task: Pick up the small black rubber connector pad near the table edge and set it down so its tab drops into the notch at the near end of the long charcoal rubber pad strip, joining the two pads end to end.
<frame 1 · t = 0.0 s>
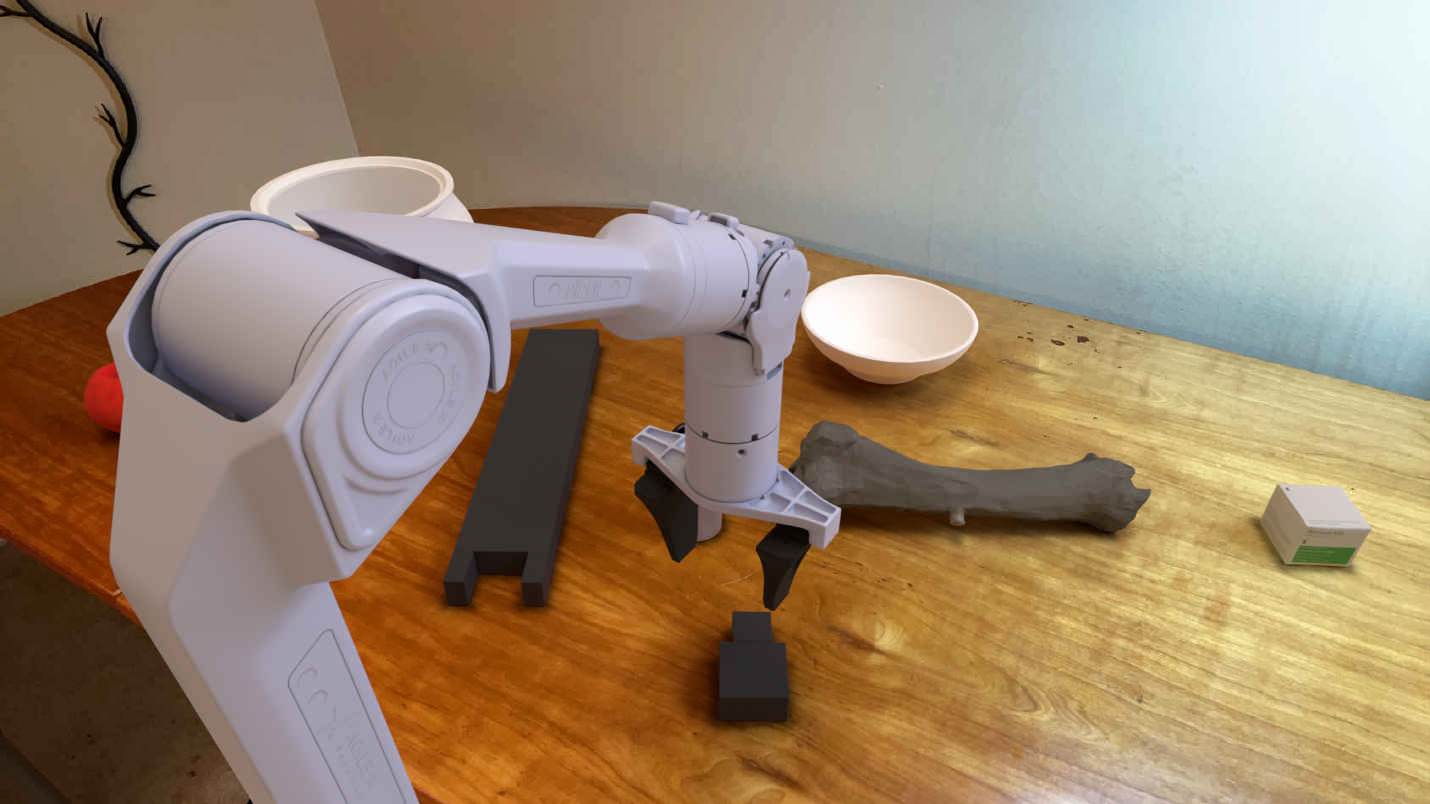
hand: (728, 576, 62), 12 cm above the table, tool pointing down, fingers open, 7 cm apart
small box: (1301, 546, 81), on the table
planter: (697, 526, 83), on the table
apple: (143, 428, 95), on the table
bowl: (881, 367, 105), on the table
pot: (383, 313, 114), on the table
bone: (956, 516, 84), on the table
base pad: (537, 454, 91), on the table
connector pad: (752, 692, 68), on the table
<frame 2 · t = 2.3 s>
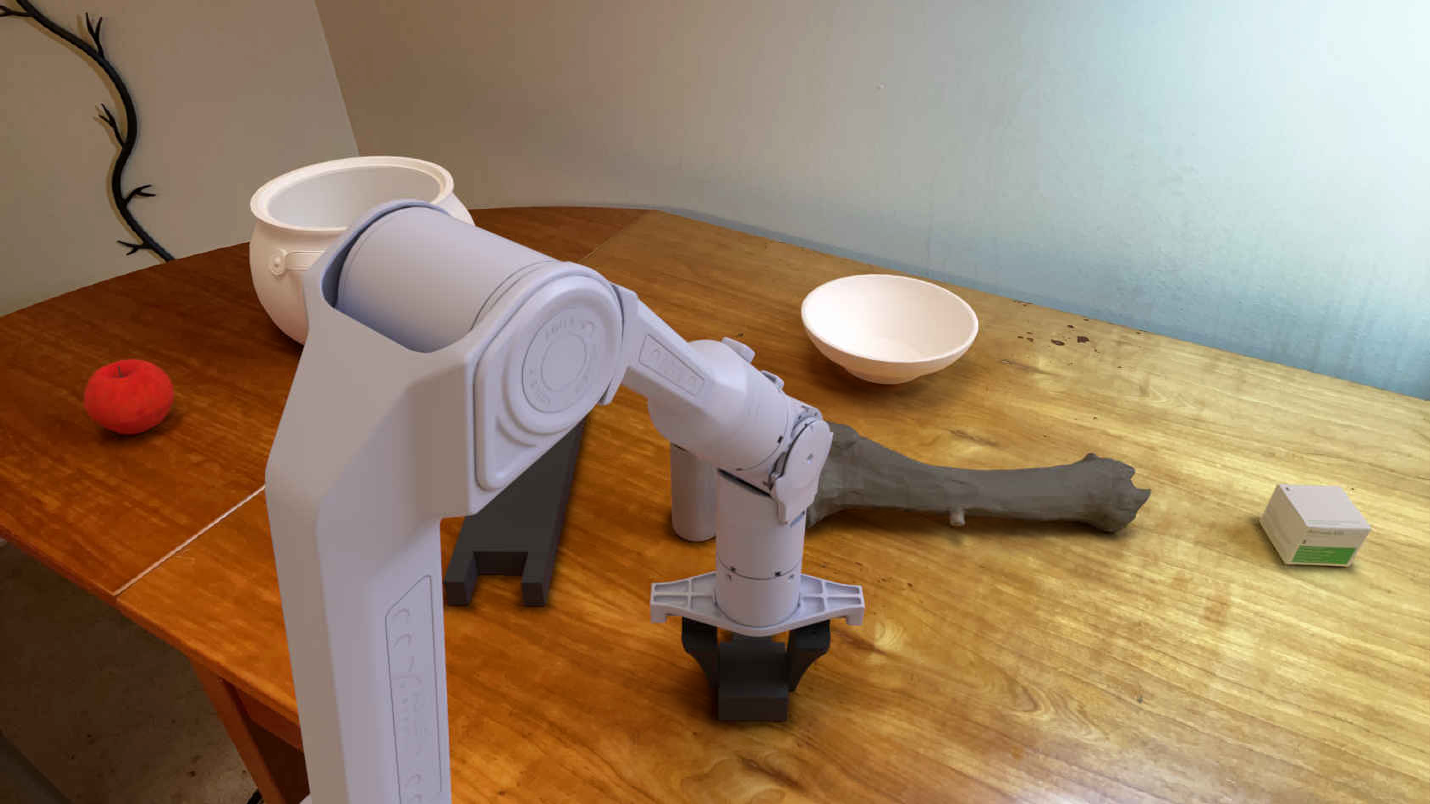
hand: (752, 680, 67), 1 cm above the table, tool pointing down, fingers closed on connector pad, 5 cm apart
connector pad: (751, 692, 68), on the table, touching gripper
everything else where it was.
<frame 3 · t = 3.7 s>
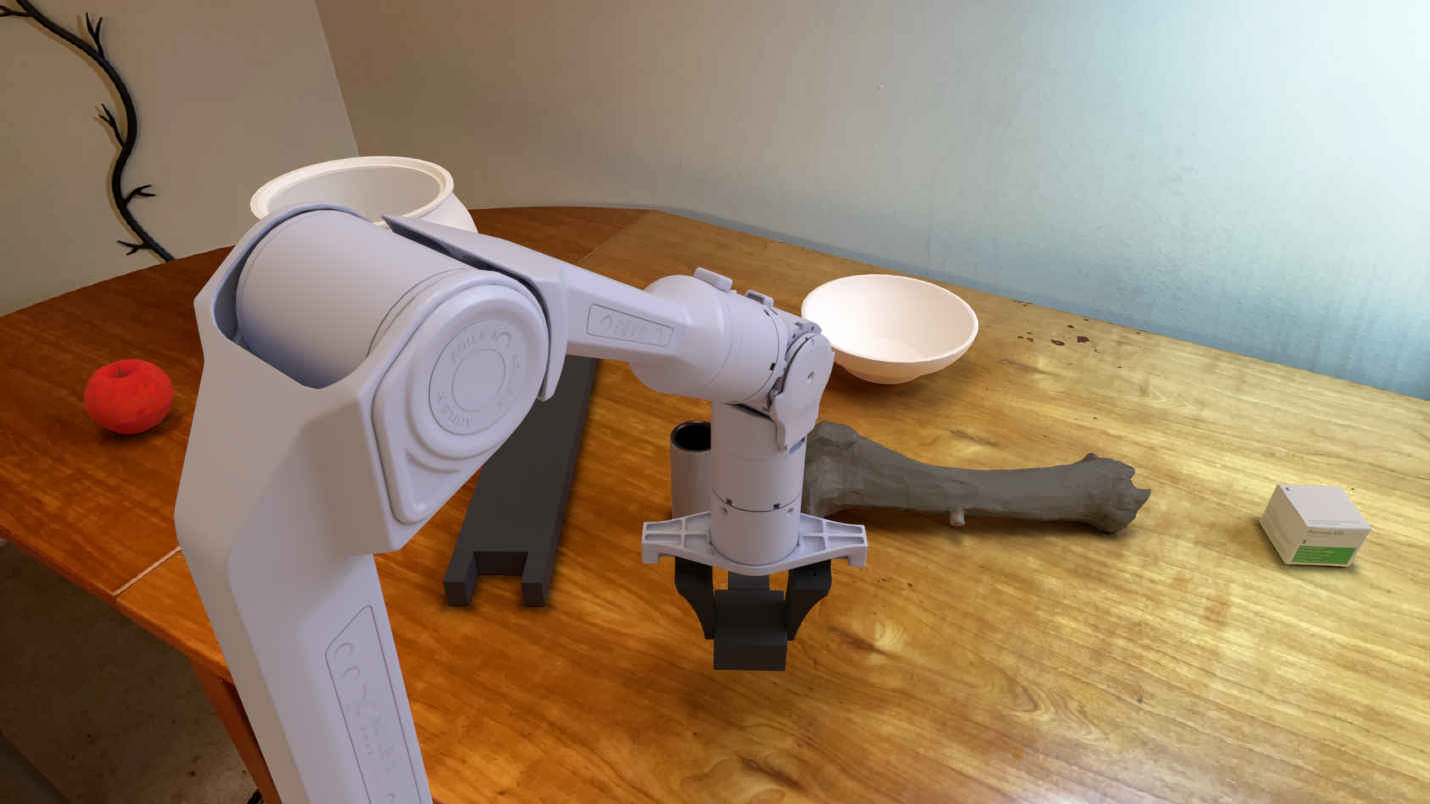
hand: (749, 629, 64), 7 cm above the table, tool pointing down, fingers closed on connector pad, 5 cm apart
connector pad: (748, 642, 65), point 6 cm above the table, touching gripper
everything else where it was.
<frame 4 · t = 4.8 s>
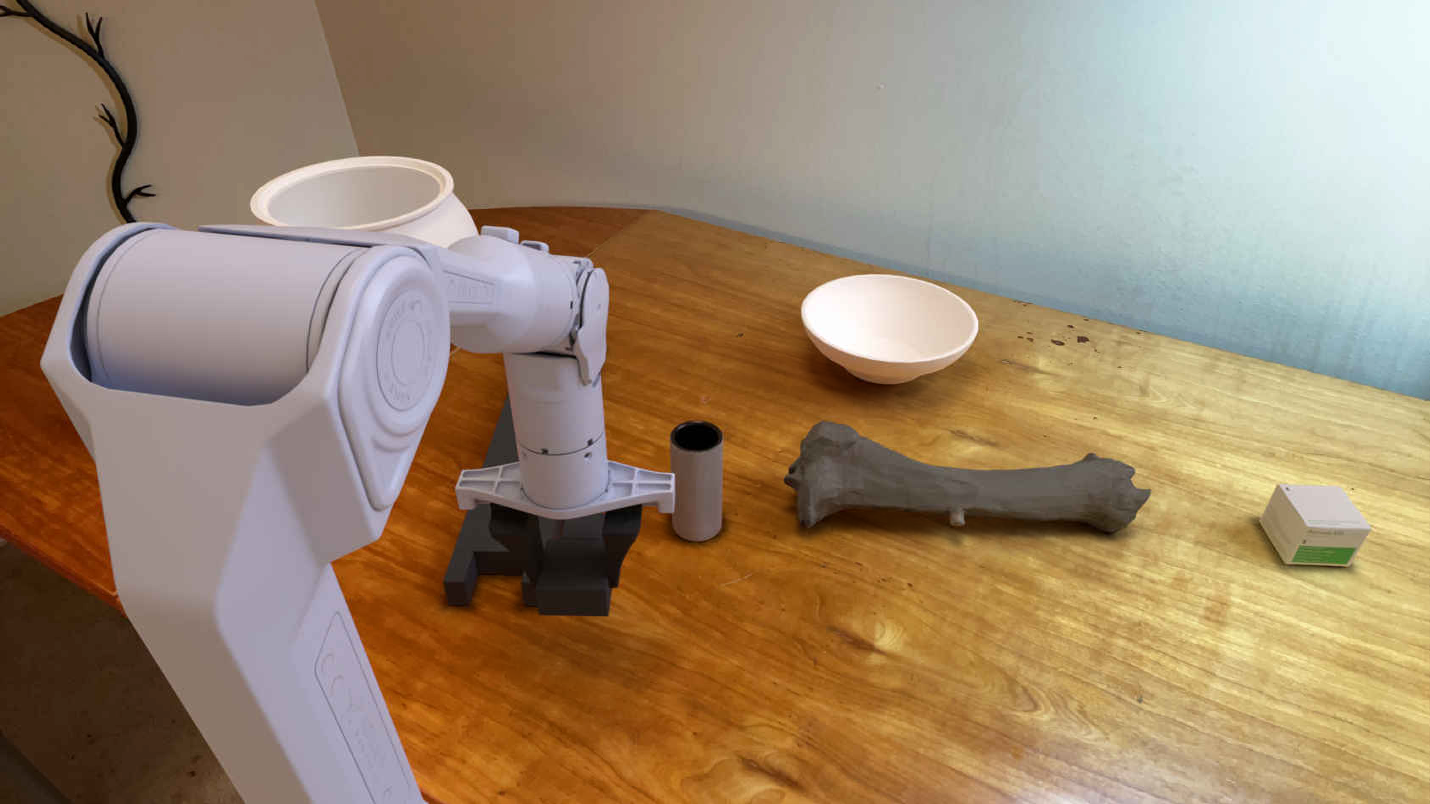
hand: (577, 577, 66), 8 cm above the table, tool pointing down, fingers closed on connector pad, 5 cm apart
connector pad: (578, 590, 67), point 7 cm above the table, touching gripper
everything else where it was.
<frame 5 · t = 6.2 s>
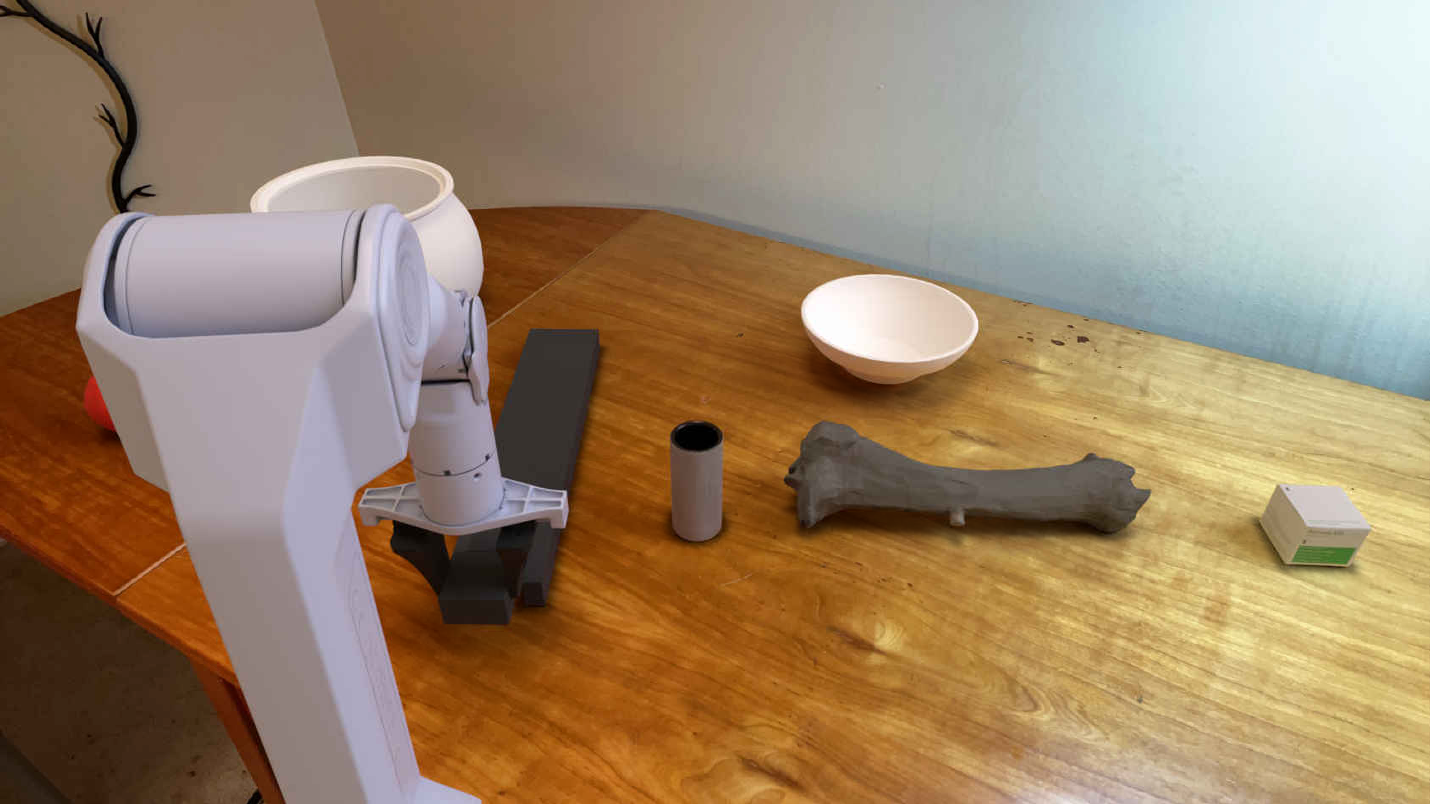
hand: (481, 588, 70), 5 cm above the table, tool pointing down, fingers closed on connector pad, 5 cm apart
connector pad: (483, 600, 71), point 3 cm above the table, touching gripper
everything else where it was.
when the fingers open (2 cm above the table, at t = 7.4 s): connector pad drops 2 cm, on the table.
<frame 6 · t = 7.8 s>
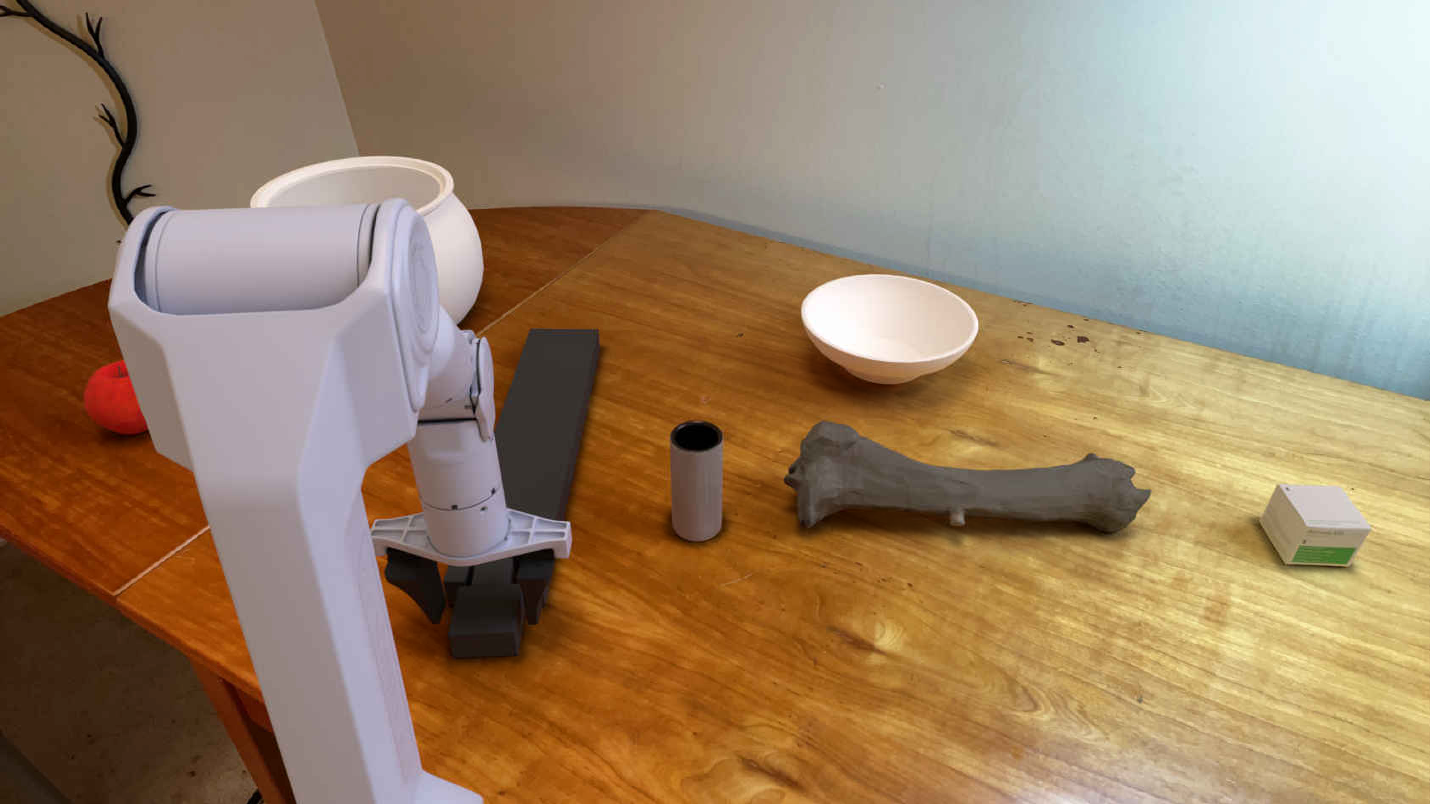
hand: (486, 614, 72), 2 cm above the table, tool pointing down, fingers open, 7 cm apart
connector pad: (490, 632, 73), on the table
everything else where it was.
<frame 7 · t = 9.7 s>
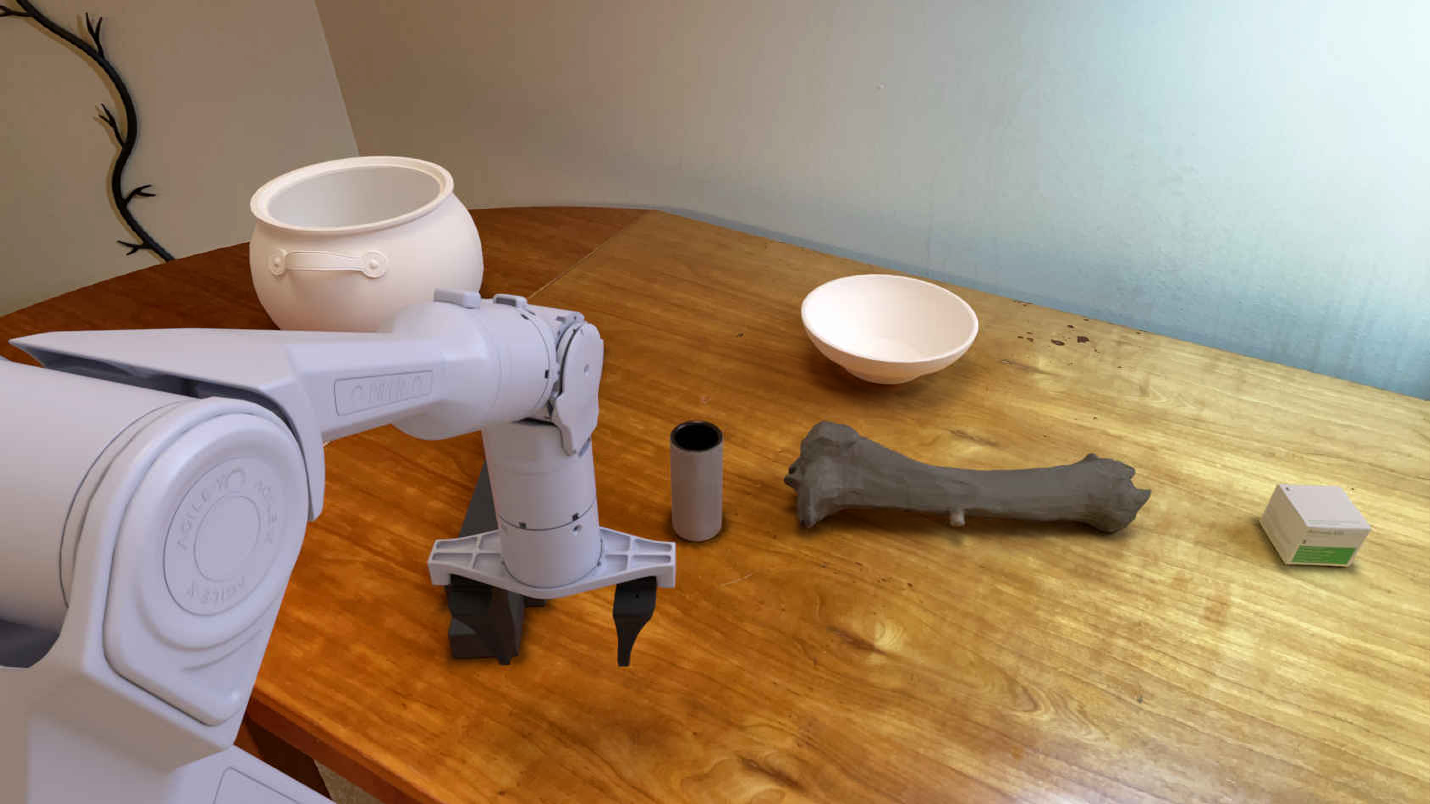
hand: (566, 653, 59), 9 cm above the table, tool pointing down, fingers open, 7 cm apart
nothing on the table moved.
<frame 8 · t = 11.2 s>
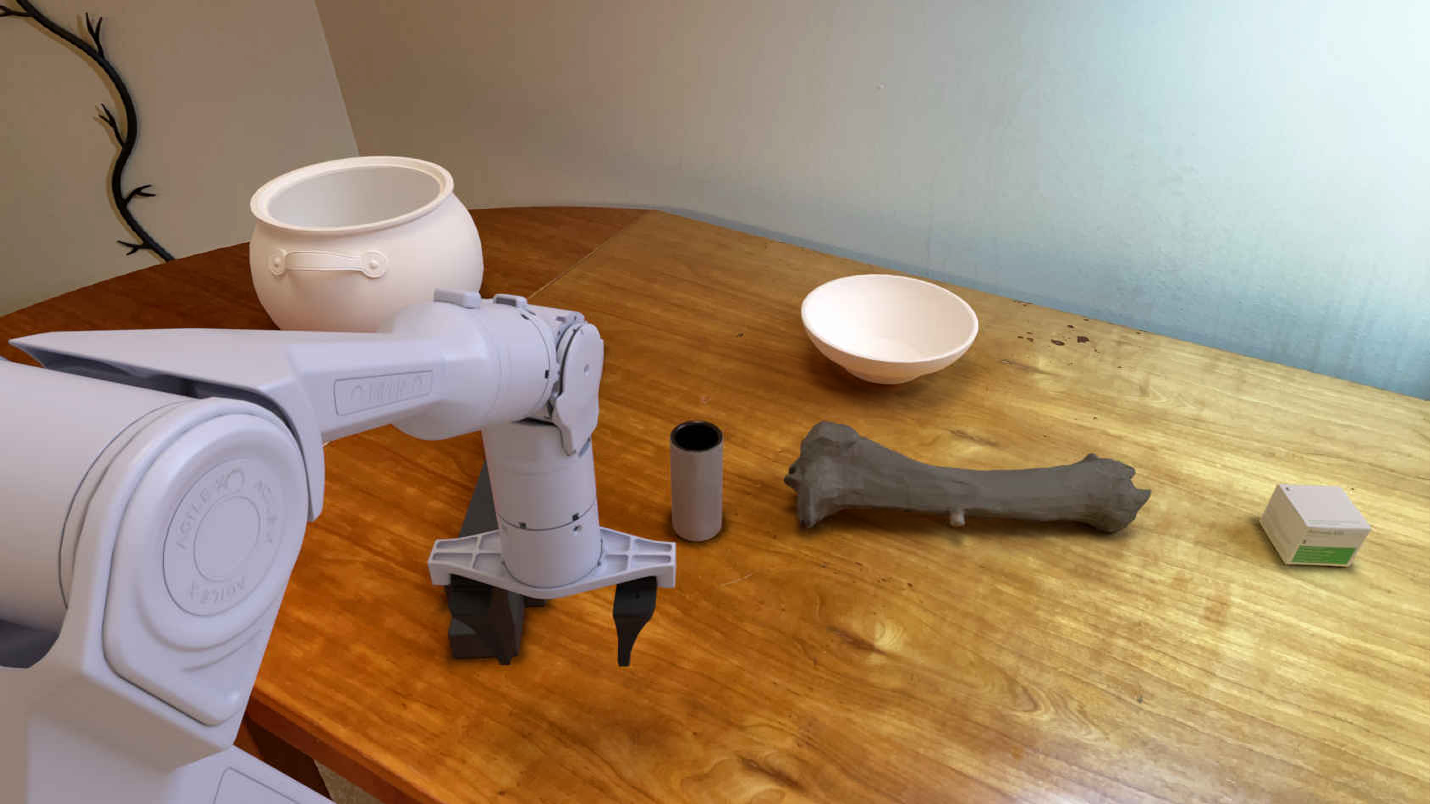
hand: (566, 653, 59), 9 cm above the table, tool pointing down, fingers open, 7 cm apart
nothing on the table moved.
at the end: connector pad 0.3 cm from the target spot on the table beside the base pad, on the table; connector pad tilted 0°; the gripper is holding nothing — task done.
